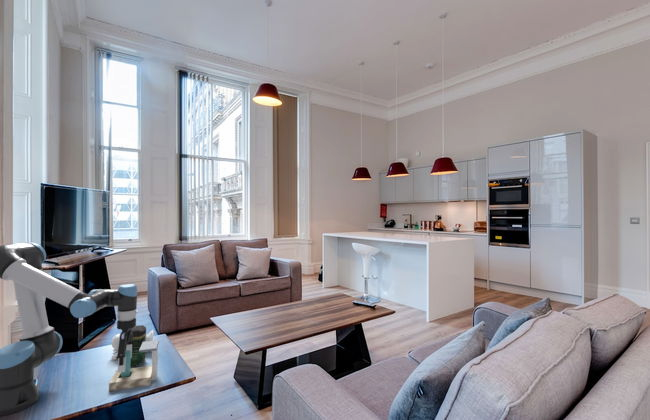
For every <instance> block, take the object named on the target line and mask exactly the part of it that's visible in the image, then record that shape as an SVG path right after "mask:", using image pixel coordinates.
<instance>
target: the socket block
mask: <svg viewBox="0 0 650 420" xmlns="http://www.w3.org/2000/svg"><path fill="white" fill-rule="evenodd" d="M152 381H153V380H152V365H147V366H137V367H130V377H124V378H121V372H119V373H118V369H117V370H115V372H114V374H113V376H112V378H111V379H110V381H109V383H108V392H113V391H119V390H125V389H132V388H134V389H135V388H139V387H145V386H150V385H151V384H152Z"/></svg>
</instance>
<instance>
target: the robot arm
mask: <svg viewBox="0 0 650 420" xmlns="http://www.w3.org/2000/svg"><path fill="white" fill-rule="evenodd" d="M46 259H47V253H46V250H45V248H44V247H43V246H41V245H40V244H38V243H36V242H31V241H30V242H28V241H27V242H18V243H10V244H2V245H1V244H0V279H1V280H4V281H12V282H13V286H14V293H15V298H16V302H17V308H18V313H19V318H20V323H21V328H22V334H21V335H20V336H19V341H16V342H14V343H9V344H7V345H5V346H3V347H1V348H0V417H2V416H6V415H11V414H14V413H17V412H20V411H23V410H25V409H27V408H29V407H30V406H33V405H34V404H35V403H36V402H37V401H38V400H39V398H40V396H39V395H40V392H39V389H38V387H37V384H36V383H35V381H34V373H35V368H37V367H39V366H41V365H42V364H44V363H45V362H47V361H49V360H50V359H52V358H54V357H55V356H56V355H58V353H60V350H61V349H62V347H63V342H64V341H63V337H62V335H61V334H60V333H58V332H57V331H55V327H53V326H52V325H51V326H50V325H49V321H48V315H47V310H46V304H45V298H47V299H49V300H52V301H53V302H56V303H58V304H60V305H61V306H64V307H66V308H68V309H69V310H70V311H69V312H70V313H71V315H72V316H73V317H74V318H76V319H82V318H83V319H84V318H86V317H89V316H91V315H93V314H94V313H96V312H98V311H99V310H101V309H104V308H105V307H117V313H116V315H117V316H116V320H117V321H116V329H117V330H121V332H120V333H119V334H120V340H119V347H118V351H117V352H118V355H117V357H116V358H117V359H116V360H117V370H118V373H119V372H125V362H126V356H125V353H126V350H130V351H131V358H132V344H134V341H133V331H132V328H133V327H135V326H137V318H136V317H137V314H138V313H139V311H138V310H137V305H138V285H136V284H134V283H127V284H121V285H119V286H118V288H116V289H112V288H110V289H109V288H108V289H107V288H104V289H102V288H99V289H92V290H90V291H89V292H88V293H86V292H83V291H82V290H80V289H77V288H76V287H74V286H72V285H70V284H67V283H66V282H64V281H61V280H60V279H58V278H56V277H54V276H52V275H50V274H48V273H46V272H44V271H43V270H44V269H43V265H42V264H44V263H45V261H46ZM44 297H45V298H44Z"/></svg>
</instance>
